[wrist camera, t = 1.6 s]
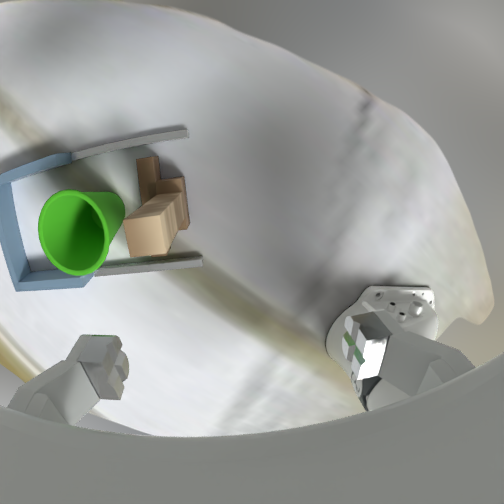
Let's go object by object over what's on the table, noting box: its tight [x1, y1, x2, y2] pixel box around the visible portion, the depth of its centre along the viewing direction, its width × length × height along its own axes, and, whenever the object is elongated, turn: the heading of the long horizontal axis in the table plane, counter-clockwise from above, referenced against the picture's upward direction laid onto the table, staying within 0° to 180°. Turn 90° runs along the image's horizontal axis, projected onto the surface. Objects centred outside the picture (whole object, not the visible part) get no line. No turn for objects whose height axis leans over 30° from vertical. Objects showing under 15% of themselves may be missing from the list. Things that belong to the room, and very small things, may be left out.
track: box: [71, 129, 203, 277], centre depth 34 cm, size 16×18×1 cm
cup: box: [38, 189, 125, 276], centre depth 29 cm, size 9×9×11 cm
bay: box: [0, 152, 94, 292], centre depth 31 cm, size 14×18×4 cm
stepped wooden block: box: [123, 156, 190, 257], centre depth 27 cm, size 5×12×15 cm, turn 4°
